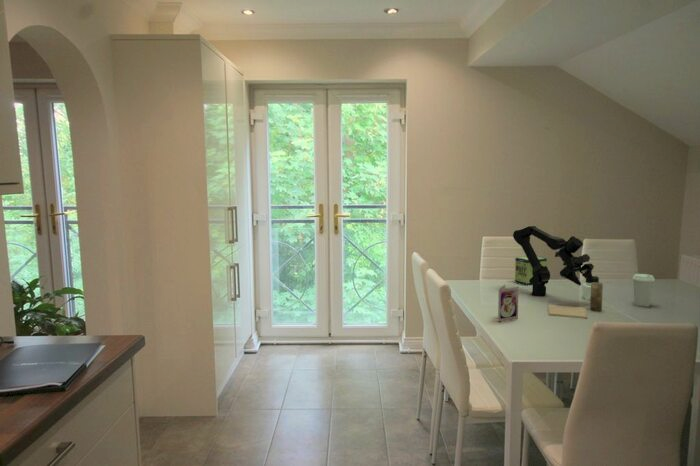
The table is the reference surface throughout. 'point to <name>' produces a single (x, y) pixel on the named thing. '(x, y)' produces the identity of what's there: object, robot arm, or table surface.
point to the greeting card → (508, 303)
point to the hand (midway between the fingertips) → (587, 284)
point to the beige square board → (567, 311)
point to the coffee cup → (643, 289)
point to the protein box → (525, 269)
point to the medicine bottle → (588, 288)
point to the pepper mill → (596, 296)
